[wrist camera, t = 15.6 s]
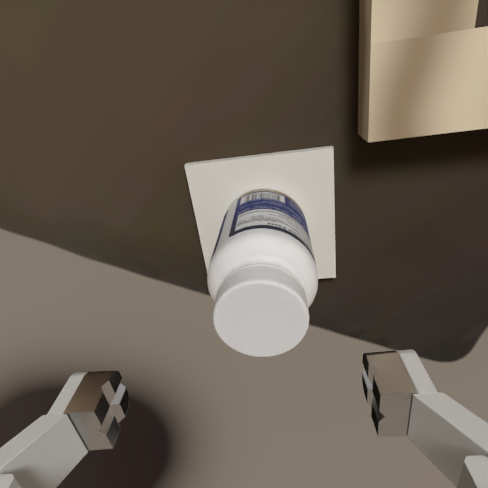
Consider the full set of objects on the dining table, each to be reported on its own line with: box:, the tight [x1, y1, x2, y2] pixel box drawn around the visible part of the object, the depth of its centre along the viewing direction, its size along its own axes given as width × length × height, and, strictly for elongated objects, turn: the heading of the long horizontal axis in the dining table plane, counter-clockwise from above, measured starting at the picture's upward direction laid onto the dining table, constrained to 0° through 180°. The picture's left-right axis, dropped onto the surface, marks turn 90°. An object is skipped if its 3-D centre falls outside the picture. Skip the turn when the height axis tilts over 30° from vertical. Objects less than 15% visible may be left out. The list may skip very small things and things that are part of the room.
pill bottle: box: [207, 188, 318, 357], centre depth 18 cm, size 5×5×10 cm
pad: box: [184, 146, 336, 279], centre depth 23 cm, size 9×9×1 cm
